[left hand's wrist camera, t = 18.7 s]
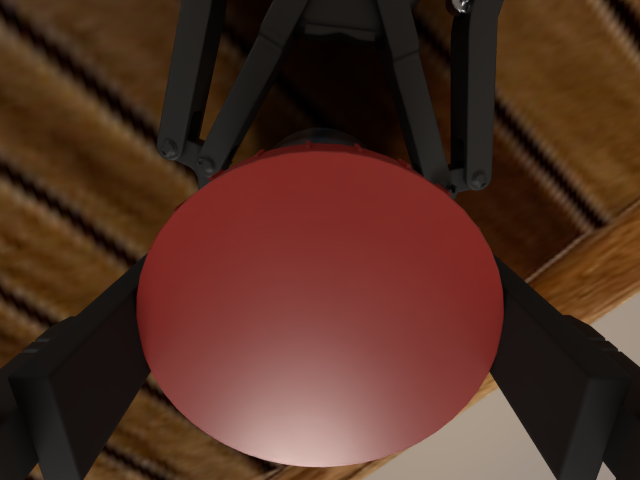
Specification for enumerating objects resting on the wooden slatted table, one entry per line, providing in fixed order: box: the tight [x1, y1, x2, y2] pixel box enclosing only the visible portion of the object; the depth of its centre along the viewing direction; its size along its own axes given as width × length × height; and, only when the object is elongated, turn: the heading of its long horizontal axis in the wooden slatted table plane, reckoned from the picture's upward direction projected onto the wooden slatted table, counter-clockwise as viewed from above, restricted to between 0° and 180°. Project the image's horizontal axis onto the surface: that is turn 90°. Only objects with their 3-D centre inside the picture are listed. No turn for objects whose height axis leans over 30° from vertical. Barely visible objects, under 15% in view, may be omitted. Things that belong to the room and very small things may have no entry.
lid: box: [136, 140, 504, 467], centre depth 11 cm, size 10×10×2 cm
